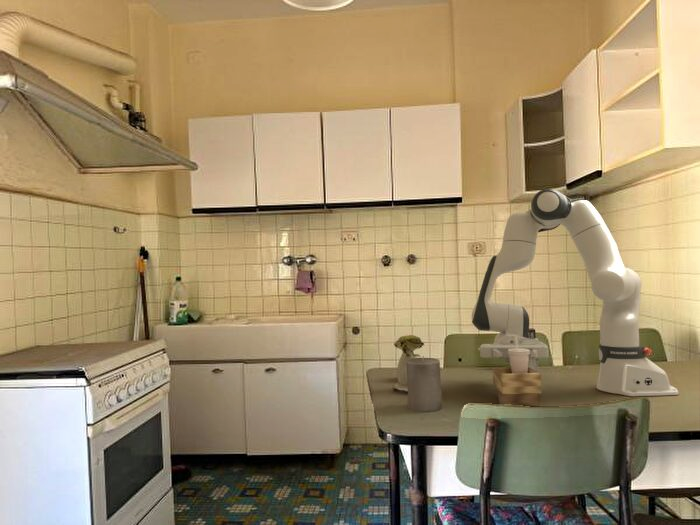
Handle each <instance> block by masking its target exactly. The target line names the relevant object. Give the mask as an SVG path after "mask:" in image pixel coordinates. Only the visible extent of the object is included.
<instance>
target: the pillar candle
mask: <svg viewBox="0 0 700 525" xmlns="http://www.w3.org/2000/svg"><path fill="white" fill-rule="evenodd" d="M441 382H442V380H441V361H440V359H438V358H433V357H424V355H423V356H422V357H421V358H413V359H409V360H407V387H408V391H407V406H408V409H409V410H410V411H413V412H419V413H420V412H421V413H424V412H427V413H428V412H436V411H439V410H441V409H442V406H443V402H442V400H443V399H442V383H441Z"/></svg>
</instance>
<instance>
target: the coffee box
mask: <svg viewBox="0 0 700 525" xmlns="http://www.w3.org/2000/svg"><path fill="white" fill-rule="evenodd" d="M536 335H537V334H536V328H530V327H529V331H528V334H527V336H526V337H528V338H536V337H537V336H536ZM528 367H529V368H531V369H533V370H538V359H529V360H528Z"/></svg>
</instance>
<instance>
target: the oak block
mask: <svg viewBox="0 0 700 525" xmlns="http://www.w3.org/2000/svg"><path fill="white" fill-rule="evenodd" d="M492 385H493V387H494V388H495V389H496V390H497V389H498V390H499V391H500V392H501V393H502V394H530V393H540V394H542V373H540V372H538V371H535V370H533V369H531V368H529V367H528V372H527V373H512V370H511V366H510V367H492Z"/></svg>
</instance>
